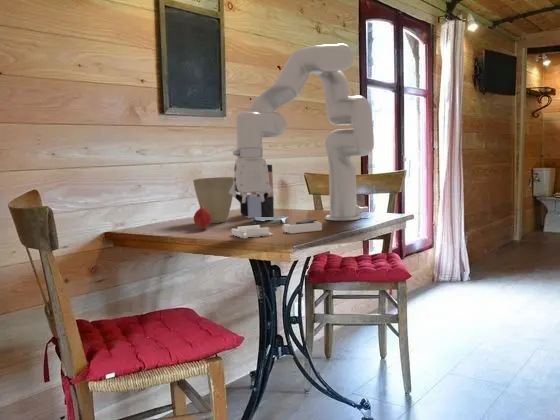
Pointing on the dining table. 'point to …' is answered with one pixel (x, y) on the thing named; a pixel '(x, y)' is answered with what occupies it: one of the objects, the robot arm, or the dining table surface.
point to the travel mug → (268, 198)
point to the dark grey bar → (305, 221)
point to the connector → (253, 205)
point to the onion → (202, 218)
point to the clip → (303, 227)
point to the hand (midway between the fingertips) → (252, 214)
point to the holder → (251, 231)
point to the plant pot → (215, 196)
